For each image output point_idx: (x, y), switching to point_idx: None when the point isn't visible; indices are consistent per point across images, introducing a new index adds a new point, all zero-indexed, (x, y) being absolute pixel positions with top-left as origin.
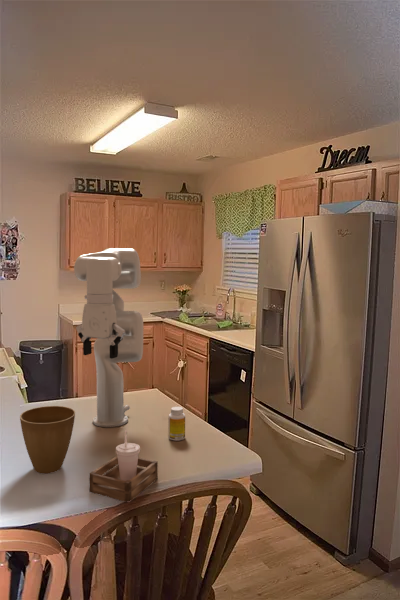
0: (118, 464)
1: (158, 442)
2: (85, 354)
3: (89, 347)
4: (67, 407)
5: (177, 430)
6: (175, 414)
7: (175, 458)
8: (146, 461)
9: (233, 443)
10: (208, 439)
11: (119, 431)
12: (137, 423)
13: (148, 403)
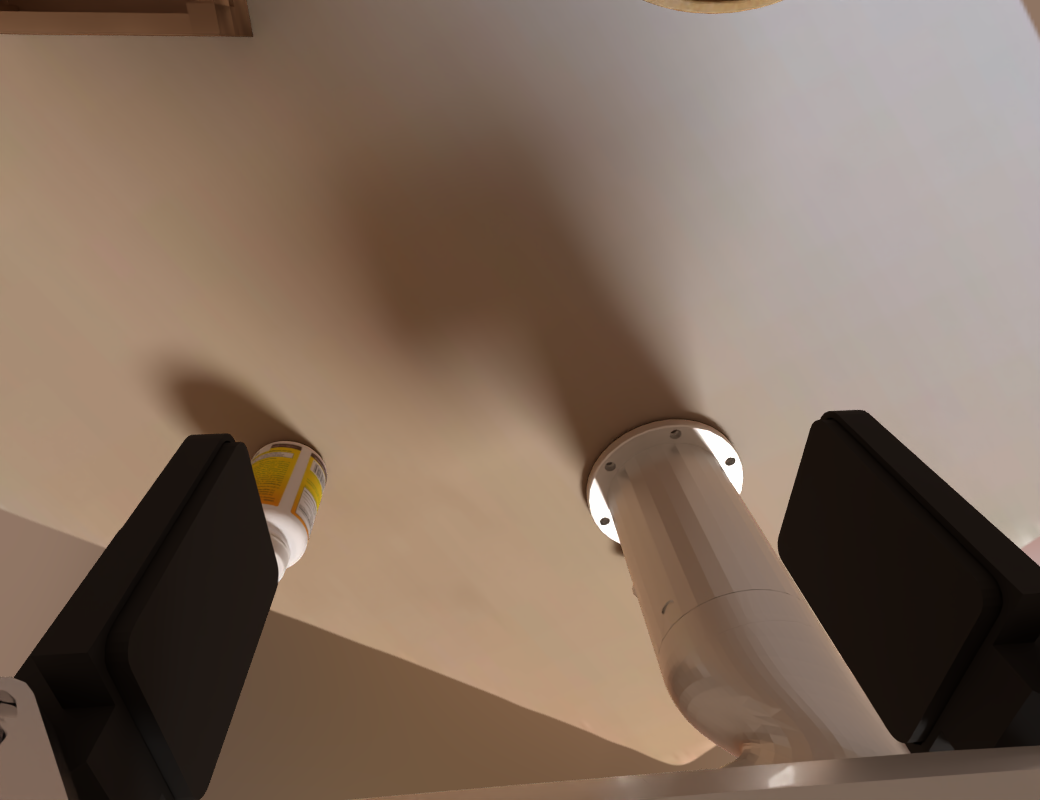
0: (232, 5)
1: (329, 399)
2: (821, 422)
3: (849, 596)
4: (687, 3)
5: None
6: None
7: (135, 291)
8: (9, 11)
9: (55, 524)
10: None
11: (562, 419)
12: (542, 516)
13: (621, 676)
